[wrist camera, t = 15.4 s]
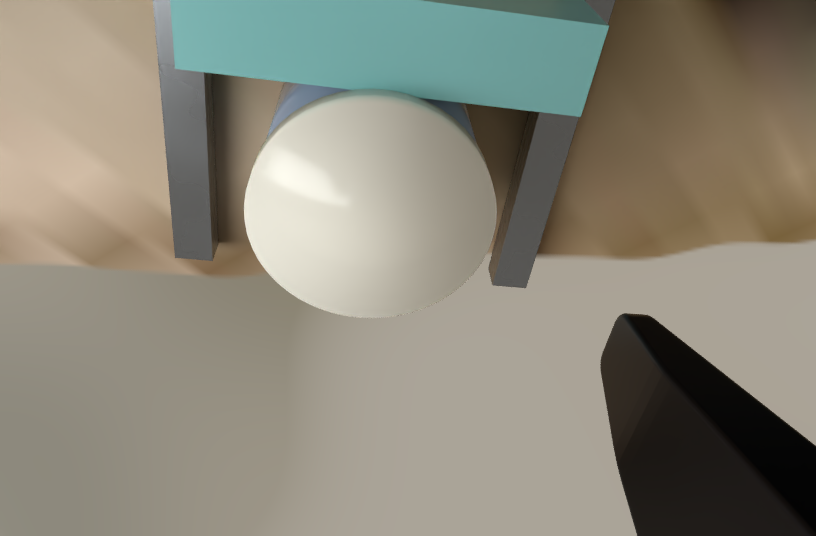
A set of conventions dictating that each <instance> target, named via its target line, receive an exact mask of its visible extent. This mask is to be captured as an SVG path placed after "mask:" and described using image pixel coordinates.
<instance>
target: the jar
mask: <svg viewBox="0 0 816 536" xmlns="http://www.w3.org/2000/svg"><path fill="white" fill-rule="evenodd" d="M496 217H497V207H496V196H495V192H494V188H493V184H492V180H491V177H490V173H489V170H488V166H487V164H486V161H485V159H484V156H483V154H482V152H481V150H480V149H479V147H478V145H477V143H476V139H475V136H474V132H473V129H472V125H471V121H470V118H469V114H468V111H467V107H466V103H459V102H451V101H442V100H434V99H425V98H418V97H415V96H412V95H409V94H405V93H401V92H397V91H392V90H382V89H355V90H350V89H341V88H333V87H324V86H316V85H307V84H299V83H291V82H285V83H284V85H283V87H282V90H281V94H280V97H279V100H278V103H277V107H276V110H275V113H274V116H273V120H272V123H271V126H270V129H269V133H268V136H267V139H266V141H265V142H264V144H263V145H262V147H261V149H260V151H259V153H258V155H257V158H256V160H255V163H254V166H253V169H252V172H251V175H250V178H249V182H248V185H247V189H246V193H245V201H244V220H245V225H246V231H247V235H248V238H249V241H250V244H251V246H252V249H253V250H254V252H255V254H256V256H257V258H258V260H259V261H260V263H261V264H262V266H263V267H264V268H265V270H266V271H267V272H268V273H269V274H270V275H271V277H272V278H273V279H274V280H275V281H276V282H277V283H278V284H280V285H281V286H282V287H283V288H284V289H285V290H287V291H288V292H290V293H291V294H293V295H294V296H296V297H297V298H299V299H301V300H303V301H304V302H306V303H308V304H310V305H312V306H315V307H317V308H320V309H322V310H325V311H328V312H332V313H336V314H339V315H345V316H351V317H362V318H384V317H392V316H399V315H403V314H407V313H411V312H414V311H418V310H420V309H423V308H426V307H428V306H430V305H432V304H435V303H437V302H439V301H441V300H442V299H444V298H445V297H447V296H449V295H450V294H452V293H453V292H454V291H455V290H457V289H458V288H459V287H461V286H462V285H463V284H464V283H465V282H466V281H467V280H468V279H469V278H470V277H471V276H472V275H473V274H474V272H475V271H476V270H477V268H478V267H479V266H480V264H481V263H482V261H483V259H484V257H485V256H486V254H487V252H488V250H489V247H490V245H491V242H492V240H493V236H494V231H495V227H496Z"/></svg>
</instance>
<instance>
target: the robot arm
mask: <svg viewBox="0 0 816 536" xmlns="http://www.w3.org/2000/svg"><path fill="white" fill-rule="evenodd" d="M601 375H602V381H603V387H604V392H605V399H606V404H607V411H608V416H609V422H610V428H611V434H612V439H613V446H614V451H615V456H616V461H617V466H618V469H619V474H620V477H621V481H622V485H623V488H624V491H625V495H626V498H627V502H628V505H629V508H630V512H631V516H632V519H633V522H634V526H635V529H636V533H637V536H816V446H815V445H814V444H813V443H811V442H810V441H809V440H808V439H806V438H805V437H804V436H802V435H801V434H800V433H799V432H797V431H796V430H795V429H794V428H792V427H791V426H790V425H788V424H787V423H786V422H785V421H783V420H782V419H781V418H780V417H778V416H777V415H776V414H774V413H773V412H772V411H771V410H769V409H768V408H767V407H766V406H764V405H763V404H762V403H761V402H759V401H758V400H757V399H755V398H754V397H753V396H752V395H750V394H749V393H748V392H746V391H745V390H744V389H743V388H741V387H740V386H739V385H738V384H736V383H735V382H734V381H732V380H731V379H730V378H729V377H728V376H726V375H725V374H724V373H722V372H721V371H720V370H719V369H717V368H716V367H715V366H713V365H712V364H711V363H710V362H708V361H707V360H706V359H705V358H703V357H702V356H701V355H699V354H698V353H697V352H696V351H694V350H693V349H692V348H691V347H689V346H688V345H687V344H686V343H684V342H683V341H682V340H680V339H679V338H678V337H677V336H675V335H674V334H673V333H672V332H670V331H669V330H668V329H666V328H665V327H664V326H663V325H661V324H660V323H659V322H658V321H656V320H655V319H654V318H652V317H651V316H648V315H642V314H627V313H625V314H622V315H620V316H619V317H618V318H617V320H616V321H615V324H614V326H613V329H612V331H611V334H610V336H609V338H608V341H607V343H606V346H605V349H604V351H603V354H602V357H601Z"/></svg>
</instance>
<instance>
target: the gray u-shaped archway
mask: <svg viewBox="0 0 816 536" xmlns="http://www.w3.org/2000/svg"><path fill="white" fill-rule="evenodd" d="M585 1H586V3H587V4H588V5H589V6H590V7H591V8H592V9H593V10H594V11H595V12H596V13H597V14H598V15H599V16H600V17H601V18H602V19H603V20H604V21H605V22H606V23H607V24H608V22H609V19H610V16H611V13H612V9H613V6H614V3H615V0H585ZM153 7H154V19H155V31H156V42H157V54H158V65H159V77H160V88H161V100H162V111H163V123H164V134H165V146H166V158H167V169H168V181H169V192H170V204H171V215H172V227H173V238H174V250H175V258H186V259H197V260H209V261H213V258H214V255H215V252H216V249H217V246H218V221H217V195H216V169H215V143H214V117H213V91H212V73H206V72H198V71H189V70H181V69H175V62H174V48H173V34H172V20H171V6H170V0H153ZM578 119H579V117H577V116H569V115H560V114H552V113H543V112H535V111H529V115H528V119H527V123H526V127H525V131H524V134H523V138H522V142H521V146H520V150H519V153H518V157H517V161H516V165H515V169H514V173H513V176H512V180H511V184H510V188H509V192H508V195H507V199H506V203H505V207H504V211H503V215H502V218H501V222H500V226H499V230H498V234H497V237H496V241H495V245H494V249H493V253H492V257H491V261H490V264H489V273H490V277H491V281H492V284H493V285H496V286H508V287H520V288H526V286H527V283H528V280H529V276H530V273H531V270H532V267H533V264H534V261H535V257H536V254H537V251H538V248H539V244H540V241H541V238H542V235H543V232H544V228H545V225H546V222H547V219H548V215H549V212H550V209H551V206H552V203H553V199H554V196H555V193H556V190H557V187H558V183H559V180H560V177H561V174H562V170H563V167H564V164H565V161H566V158H567V154H568V151H569V148H570V145H571V141H572V138H573V135H574V132H575V129H576V125H577V122H578Z"/></svg>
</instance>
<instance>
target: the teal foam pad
mask: <svg viewBox="0 0 816 536" xmlns="http://www.w3.org/2000/svg"><path fill="white" fill-rule="evenodd" d="M170 6H171V20H172V34H173V48H174V62H175V69H181V70H189V71H198V72H206V73H215V74H223V75H232V76H240V77H248V78H257V79H265V80H274V81H282V82H291V83H299V84H307V85H316V86H324V87H333V88H341V89H350V90H355V89H382V90H392V91H397V92H401V93H405V94H409V95H412V96H415V97H418V98H425V99H434V100H442V101H451V102H459V103H468V104H476V105H484V106H493V107H501V108H510V109H518V110H527V111H535V112H543V113H552V114H560V115H569V116H577V117H581V115H582V111H583V108H584V105H585V102H586V99H587V95H588V92H589V89H590V86H591V83H592V79H593V76H594V73H595V70H596V67H597V63H598V60H599V57H600V54H601V51H602V47H603V44H604V41H605V38H606V35H607V31H608V28H609V25H608V24H607V23H606V22H605V21H604V20H603V19H602V18H601V17H600V16H599V15H598V14H597V13H596V12H595V11H594V10H593V9H592V8H591V7H590V6H589V5H588V4H587V3H586V1H585V0H170Z"/></svg>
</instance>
